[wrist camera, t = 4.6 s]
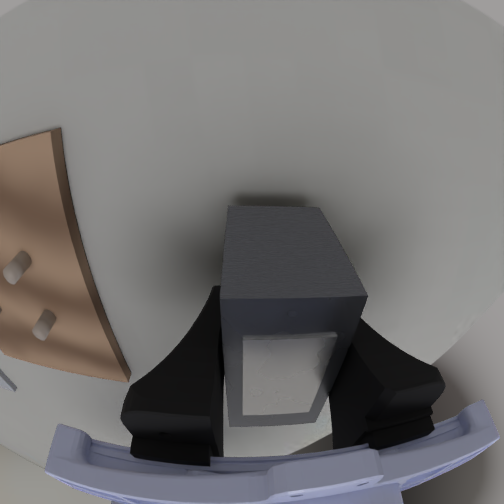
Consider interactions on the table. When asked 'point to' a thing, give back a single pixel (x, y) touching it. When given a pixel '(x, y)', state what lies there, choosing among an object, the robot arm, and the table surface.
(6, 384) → the office telephone
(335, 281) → the block
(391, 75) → the table surface
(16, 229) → the pin tray
